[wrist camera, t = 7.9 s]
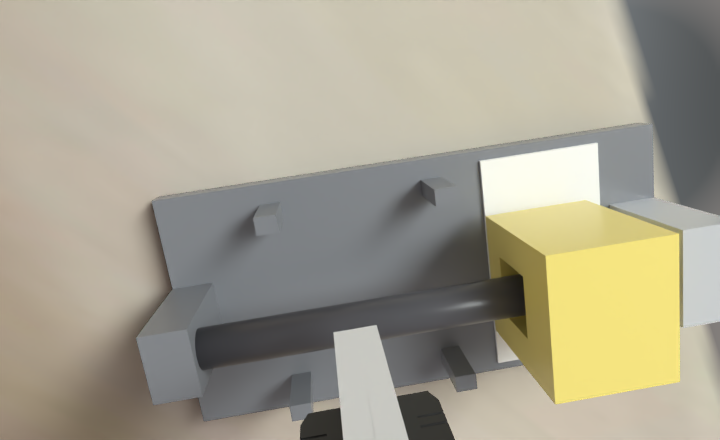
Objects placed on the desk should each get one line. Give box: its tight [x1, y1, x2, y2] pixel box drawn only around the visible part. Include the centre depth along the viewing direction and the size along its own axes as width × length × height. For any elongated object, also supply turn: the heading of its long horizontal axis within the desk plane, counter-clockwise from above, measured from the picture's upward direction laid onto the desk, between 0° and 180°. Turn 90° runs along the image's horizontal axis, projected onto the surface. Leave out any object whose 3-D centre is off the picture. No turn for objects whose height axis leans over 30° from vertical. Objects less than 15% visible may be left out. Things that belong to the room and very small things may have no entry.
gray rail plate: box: [136, 123, 720, 421], centre depth 25 cm, size 12×25×7 cm, turn 98°
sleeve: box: [485, 200, 680, 404], centre depth 23 cm, size 6×5×7 cm
